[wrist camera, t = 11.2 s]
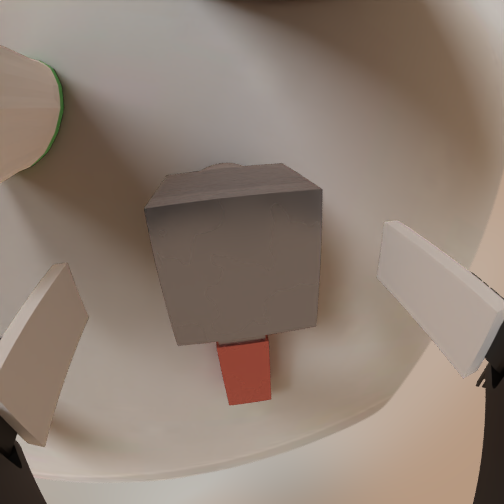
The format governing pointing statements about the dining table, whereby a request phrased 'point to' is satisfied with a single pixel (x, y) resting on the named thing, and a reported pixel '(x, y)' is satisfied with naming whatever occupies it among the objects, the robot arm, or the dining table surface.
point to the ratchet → (244, 359)
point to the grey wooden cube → (237, 251)
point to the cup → (26, 111)
